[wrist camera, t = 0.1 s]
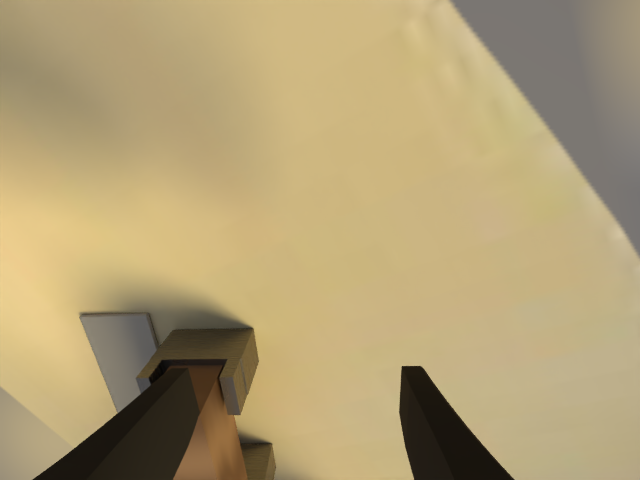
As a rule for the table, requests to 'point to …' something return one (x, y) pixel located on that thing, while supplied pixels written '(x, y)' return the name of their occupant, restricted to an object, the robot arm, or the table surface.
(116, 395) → the mat
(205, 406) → the rail
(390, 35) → the table surface
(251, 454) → the post
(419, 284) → the table surface
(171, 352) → the post
